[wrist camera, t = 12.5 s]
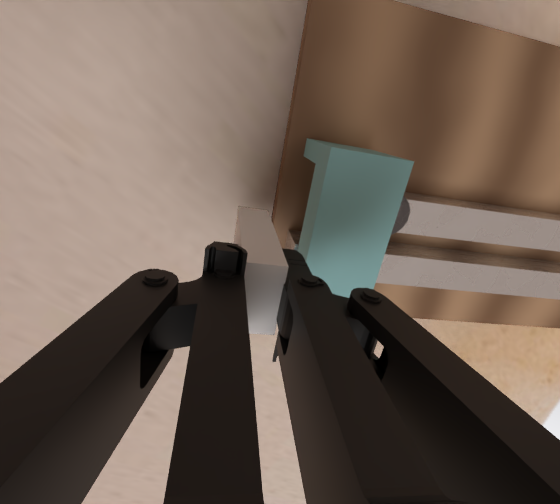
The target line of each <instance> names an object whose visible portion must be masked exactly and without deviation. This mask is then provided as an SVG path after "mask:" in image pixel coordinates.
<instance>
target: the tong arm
mask: <svg viewBox="0 0 560 504" xmlns="http://www.w3.org/2000/svg"><path fill="white" fill-rule="evenodd" d="M394 233H405V234H413V235H422V236H430V237H439V238H447V239H456V240H464V241H473V242H481V243H490V244H499V245H507V246H516V247H524V248H533V249H541V250H550V251H558V252H560V214H553V213H546V212H539V211H532V210H525V209H518V208H511V207H504V206H497V205H490V204H483V203H476V202H470V201H463V200H456V199H449V198H442V197H435V196H428V195H421V194H414V193H407V192H404V195H403V199H402V202H401V205H400V208H399V211H398V214H397V217H396V220H395V224H394V227H393V230H392V233H391V235H392V234H394Z"/></svg>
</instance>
